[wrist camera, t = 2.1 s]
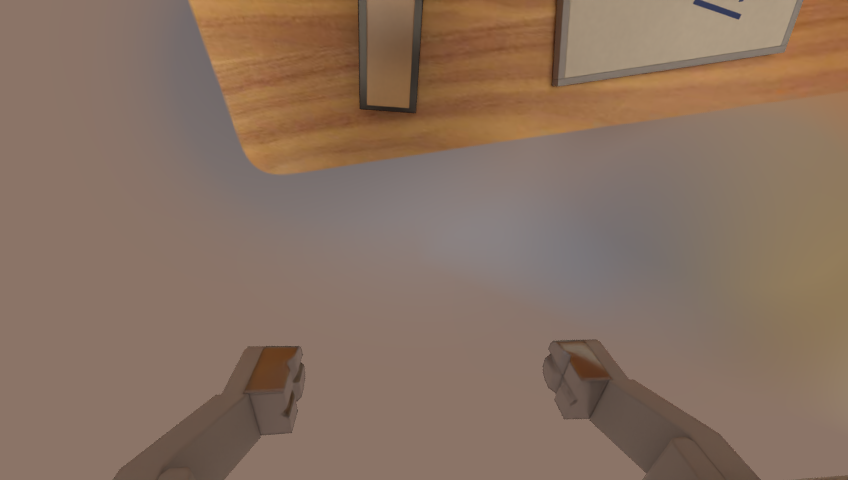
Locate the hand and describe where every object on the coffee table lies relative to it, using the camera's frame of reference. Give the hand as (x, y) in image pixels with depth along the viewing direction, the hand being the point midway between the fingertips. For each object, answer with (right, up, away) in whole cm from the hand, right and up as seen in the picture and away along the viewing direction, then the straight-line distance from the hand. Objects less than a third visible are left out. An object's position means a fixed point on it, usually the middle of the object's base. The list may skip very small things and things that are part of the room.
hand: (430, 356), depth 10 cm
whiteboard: (+22, +26, +18) cm, 38 cm away
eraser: (-3, +21, +18) cm, 27 cm away
